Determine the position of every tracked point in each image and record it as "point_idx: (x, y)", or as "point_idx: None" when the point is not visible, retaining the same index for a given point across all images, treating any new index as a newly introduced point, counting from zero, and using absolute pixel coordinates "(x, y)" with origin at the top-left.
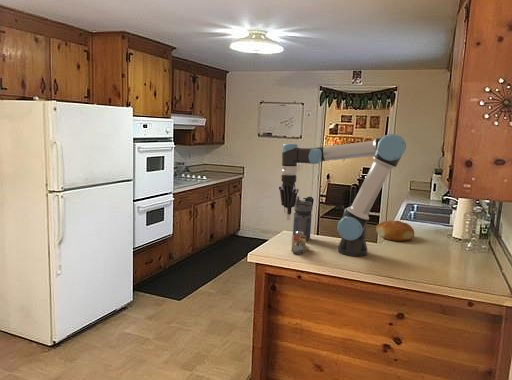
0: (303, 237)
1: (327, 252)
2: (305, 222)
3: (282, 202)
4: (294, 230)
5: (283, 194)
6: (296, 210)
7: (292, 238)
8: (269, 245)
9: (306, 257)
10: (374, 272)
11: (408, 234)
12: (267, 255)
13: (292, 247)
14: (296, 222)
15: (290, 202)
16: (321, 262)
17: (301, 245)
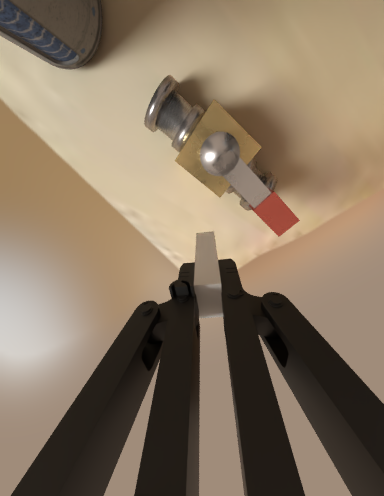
0: (237, 141)
1: (305, 40)
2: None
3: (155, 356)
4: (40, 49)
5: (93, 476)
6: None
7: (220, 195)
8: (145, 221)
9: (295, 183)
10: None
11: None
12: None
13: (247, 209)
14: (6, 15)
15: (287, 372)
16: (361, 167)
17: (274, 187)
